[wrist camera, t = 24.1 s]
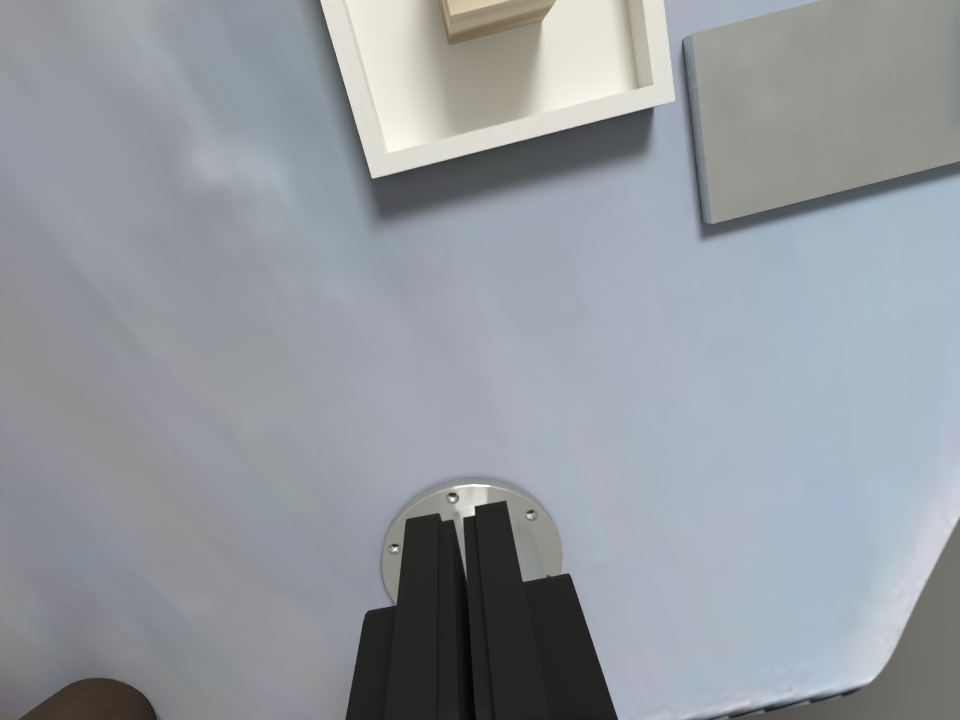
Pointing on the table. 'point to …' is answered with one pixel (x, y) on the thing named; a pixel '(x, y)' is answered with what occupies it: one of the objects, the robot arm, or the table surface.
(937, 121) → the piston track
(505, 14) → the wooden block
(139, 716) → the plant pot
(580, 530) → the table surface
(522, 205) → the table surface
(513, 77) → the tray
